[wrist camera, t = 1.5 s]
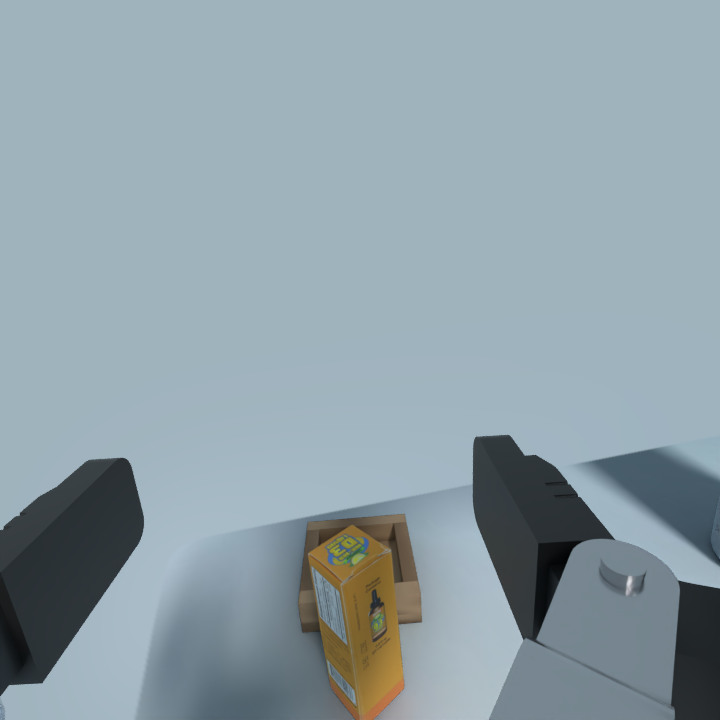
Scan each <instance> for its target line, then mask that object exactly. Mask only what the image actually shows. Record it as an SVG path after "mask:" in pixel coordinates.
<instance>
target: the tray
mask: <svg viewBox="0 0 720 720" xmlns="http://www.w3.org/2000/svg"><path fill="white" fill-rule="evenodd" d="M351 525H354V526H355V527H357V528H358V529H360V530H361V531H363V532H364V533H366V534H367V535H369V536H370V537H372V538H373V539H375V540H376V541H378V542H379V543H381V544H383V545H385V546H387V547H388V548H390V549H391V553H392V564H393V575H394V585H395V595H396V605H397V615H398V624H406V623H417V622H422V616H421V593H420V588H419V583H418V578H417V573H416V568H415V563H414V558H413V553H412V548H411V543H410V538H409V533H408V528H407V523H406V518H405V514H397V515H385V516H373V517H361V518H350V519H338V520H326V521H314V522H308V525H307V534H306V542H305V550H304V559H303V567H302V576H301V584H300V593H299V601H298V606H299V612H300V619H301V625H302V631H303V632H314V631H321V630H320V623H319V618H318V612H317V606H316V600H315V594H314V588H313V582H312V577H311V571H310V565H309V559H308V553H309V552H310V551H312V550H314V549H315V548H317V547H318V546H320V545H321V544H323V543H325V542H326V541H327V540H329V539H331V538H332V537H334V536H335V535H337V534H338V533H340V532H341V531H343V530H344V529H346V528H348V527H349V526H351Z"/></svg>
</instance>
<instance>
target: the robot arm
mask: <svg viewBox="0 0 720 720" xmlns="http://www.w3.org/2000/svg"><path fill="white" fill-rule="evenodd" d="M473 506H474V513H475V518H476V522H477V525H478V528H479V530H480V533H481V535H482V538H483V540H484V543H485V545H486V548H487V550H488V553H489V555H490V558H491V560H492V563H493V565H494V568H495V570H496V573H497V575H498V578H499V580H500V583H501V585H502V588H503V590H504V593H505V595H506V598H507V600H508V603H509V605H510V608H511V610H512V613H513V615H514V618H515V620H516V623H517V625H518V628H519V630H520V633H521V635H522V638H523V640H524V641H523V643H522V645H521V646H520V649H519V651H518V653H517V655H516V658H515V660H514V662H513V665H512V667H511V669H510V672H509V674H508V676H507V679H506V681H505V683H504V686H503V688H502V690H501V693H500V695H499V697H498V700H497V702H496V704H495V707H494V709H493V711H492V714H491V716H490V718H489V720H720V589H719V588H714V587H708V586H702V585H697V584H691V583H687V582H682V581H679V580H677V578H676V577H675V575H674V573H673V572H672V571H671V570H670V568H669V567H668V566H667V565H666V564H664V563H663V562H662V561H661V560H660V559H658V558H657V557H656V556H654V555H652V554H651V553H649V552H647V551H646V550H643V549H641V548H639V547H637V546H634V545H632V544H629V543H625V542H622V541H617V540H615V539H614V538H613V537H612V535H611V534H610V533H609V532H608V530H607V529H606V528H605V527H604V526H603V524H602V523H601V522H600V521H599V519H598V518H597V517H596V516H595V515H594V513H593V512H592V511H591V510H590V508H589V507H588V506H587V505H586V504H585V502H584V501H583V500H582V499H581V497H578V494H577V493H576V491H575V490H574V489H573V488H572V486H571V485H570V484H569V485H568V483H567V480H566V479H565V478H564V477H563V476H562V474H561V473H560V472H559V471H558V469H557V468H556V467H554V466H553V465H551V464H550V463H548V462H547V461H545V460H543V459H542V458H540V457H538V456H536V455H530V456H524V454H523V453H522V451H521V450H520V449H519V447H518V446H517V444H516V443H515V442H514V440H513V439H512V438H511V436H509V435H499V436H483V437H476V438H475V440H474V445H473ZM143 528H144V516H143V512H142V508H141V503H140V499H139V496H138V491H137V487H136V484H135V479H134V475H133V471H132V467H131V465H130V463H129V461H128V460H127V459H125V458H112V459H96V460H88V461H86V462H85V463H84V464H83V465H82V466H80V467H79V468H78V469H77V470H76V471H75V472H74V473H72V474H71V475H70V476H69V477H68V478H67V479H65V480H64V481H63V482H62V483H61V484H60V485H58V486H57V487H56V488H54V489H52V490H50V491H49V492H47V493H45V494H43V495H41V496H40V497H38V498H37V499H36V500H35V501H33V502H32V503H31V504H30V505H29V506H28V507H26V508H25V509H24V510H23V511H22V512H21V513H20V516H16V517H14V518H13V519H12V520H11V521H10V522H9V523H7V524H6V525H5V526H4V529H3V530H0V696H1V695H2V693H3V692H4V691H5V689H6V688H7V687H8V686H9V685H17V684H18V685H19V684H36V683H43V681H44V680H45V678H46V677H47V675H48V674H49V673H50V671H51V670H52V668H53V667H54V665H55V664H56V662H57V661H58V659H59V658H60V657H61V655H62V654H63V652H64V651H65V649H66V648H67V647H68V645H69V644H70V642H71V641H72V639H73V638H74V636H75V635H76V634H77V632H78V631H79V629H80V628H81V626H82V625H83V623H84V622H85V620H86V619H87V618H88V616H89V614H90V613H91V612H92V610H93V609H94V607H95V606H96V605H97V603H98V602H99V600H100V599H101V597H102V596H103V594H104V593H105V592H106V590H107V589H108V587H109V586H110V584H111V583H112V581H113V580H114V578H115V577H116V576H117V574H118V573H119V571H120V570H121V568H122V567H123V565H124V564H125V563H126V561H127V560H128V558H129V556H130V555H131V554H132V552H133V551H134V549H135V548H136V547H137V545H138V544H139V541H140V539H141V536H142V533H143ZM710 541H711V544H712V548H713V550H714V552H715V553H716V555H717V556H718V558H719V559H720V496H719V500H718V505H717V510H716V514H715V519H714V524H713V529H712V533H711V540H710ZM0 720H5V710H4V706H3V704H2V702H1V699H0Z"/></svg>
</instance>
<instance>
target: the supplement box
mask: <svg viewBox="0 0 720 720" xmlns="http://www.w3.org/2000/svg"><path fill="white" fill-rule="evenodd" d="M308 559H309V565H310V571H311V577H312V582H313V588H314V594H315V600H316V606H317V612H318V618H319V623H320V630H321V636H322V641H323V647H324V653H325V658H326V664H327V669H328V675H329V681H330V686H331V689H332V690H333V692H334V693H335V694H336V695H337V696H338V698H339V699H340V700H341V701H342V703H343V704H344V705H345V707H346V708H347V709H348V711H349V712H350V713H351V714H352V716H353V717H354V718H355V720H373V719H374V718H375V717H376V716H377V715H378V714H379V713H380V712H381V711H382V710H383V709H384V708H385V707H386V706H387V705H388V704H389V703H390V702H391V701H392V700H393V699H394V698H395V697H396V696H397V695H398V694H399V693H400V692H401V691H402V690H403V689H404V678H403V666H402V656H401V647H400V636H399V625H398V615H397V605H396V595H395V585H394V575H393V564H392V553H391V549H390V548H388V547H387V546H385V545H383V544H381V543H379V542H378V541H376V540H375V539H373V538H372V537H370V536H369V535H367V534H366V533H364V532H363V531H361V530H360V529H358V528H357V527H355V526H354V525H351V526H349V527H348V528H346V529H344V530H343V531H341V532H340V533H338V534H337V535H335V536H334V537H332V538H331V539H329V540H327V541H326V542H325V543H323V544H321V545H320V546H318V547H317V548H315V549H314V550H312V551H310V552H309V553H308Z"/></svg>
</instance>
